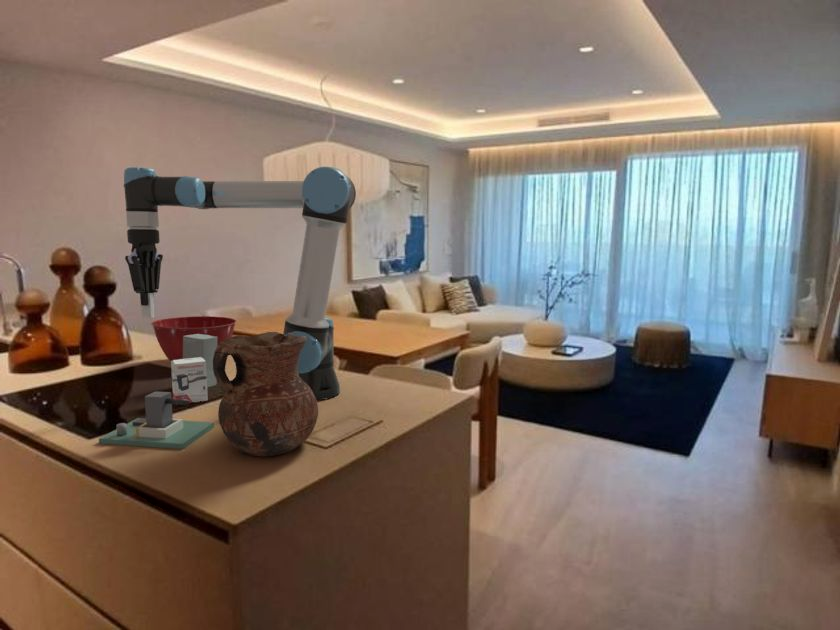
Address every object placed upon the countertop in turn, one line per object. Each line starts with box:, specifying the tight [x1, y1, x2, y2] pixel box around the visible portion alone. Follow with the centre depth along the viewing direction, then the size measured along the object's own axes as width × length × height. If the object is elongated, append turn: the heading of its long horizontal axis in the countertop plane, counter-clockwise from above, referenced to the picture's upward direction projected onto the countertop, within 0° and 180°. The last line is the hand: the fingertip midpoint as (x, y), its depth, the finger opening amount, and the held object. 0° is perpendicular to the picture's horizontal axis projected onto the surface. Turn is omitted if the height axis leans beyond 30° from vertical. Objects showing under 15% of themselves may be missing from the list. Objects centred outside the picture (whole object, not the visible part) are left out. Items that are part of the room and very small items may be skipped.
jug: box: [213, 331, 319, 457], centre depth 121 cm, size 22×21×25 cm
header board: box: [98, 417, 215, 450], centre depth 128 cm, size 20×14×4 cm
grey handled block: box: [144, 391, 191, 428], centre depth 126 cm, size 10×4×9 cm, turn 83°
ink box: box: [170, 357, 209, 406], centre depth 154 cm, size 8×5×12 cm, turn 123°
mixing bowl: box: [150, 315, 237, 362], centre depth 198 cm, size 28×28×16 cm
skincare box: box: [183, 334, 218, 389], centre depth 169 cm, size 8×7×16 cm
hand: (148, 317), depth 147 cm, fingers closed
